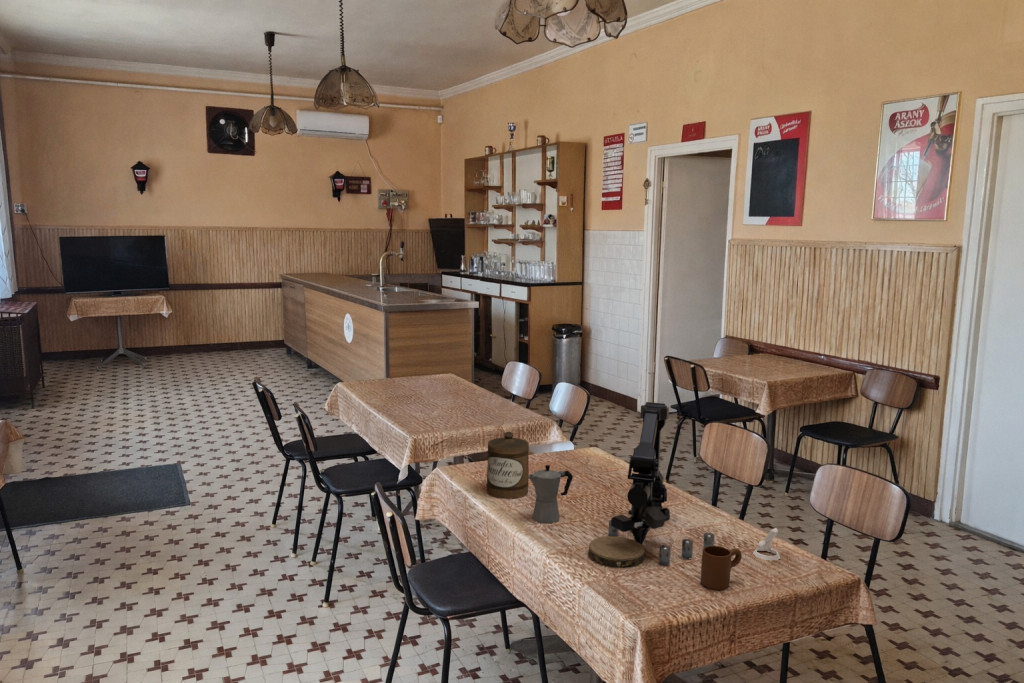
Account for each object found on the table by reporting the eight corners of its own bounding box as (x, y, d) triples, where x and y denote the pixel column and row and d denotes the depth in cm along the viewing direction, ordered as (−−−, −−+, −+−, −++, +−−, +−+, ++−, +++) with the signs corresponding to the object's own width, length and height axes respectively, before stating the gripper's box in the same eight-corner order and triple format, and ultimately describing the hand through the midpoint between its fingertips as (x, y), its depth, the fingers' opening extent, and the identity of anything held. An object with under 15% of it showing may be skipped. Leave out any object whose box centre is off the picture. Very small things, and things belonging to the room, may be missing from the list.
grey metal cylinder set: (606, 536, 234) (606, 520, 233) (656, 523, 246) (656, 508, 245) (664, 567, 214) (665, 550, 213) (715, 551, 225) (716, 535, 224)
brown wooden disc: (651, 553, 223) (652, 543, 223) (632, 573, 209) (632, 563, 209) (601, 541, 231) (601, 532, 230) (579, 560, 217) (580, 550, 217)
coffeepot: (531, 525, 241) (533, 470, 239) (522, 515, 250) (523, 462, 248) (576, 521, 246) (578, 467, 243) (565, 511, 255) (567, 459, 252)
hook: (779, 553, 212) (762, 533, 216) (762, 574, 221) (745, 555, 224) (797, 542, 216) (779, 523, 220) (779, 564, 224) (762, 545, 228)
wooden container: (480, 495, 267) (482, 435, 264) (494, 483, 281) (496, 425, 278) (520, 501, 263) (522, 439, 260) (533, 488, 277) (535, 429, 274)
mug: (729, 573, 211) (732, 541, 209) (748, 585, 204) (751, 552, 202) (694, 580, 206) (696, 547, 204) (712, 592, 199) (714, 558, 198)
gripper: (637, 509, 211) (634, 563, 213) (684, 498, 221) (681, 549, 223) (610, 497, 220) (608, 549, 222) (657, 487, 230) (655, 536, 232)
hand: (639, 546), depth 225 cm, fingers closed
